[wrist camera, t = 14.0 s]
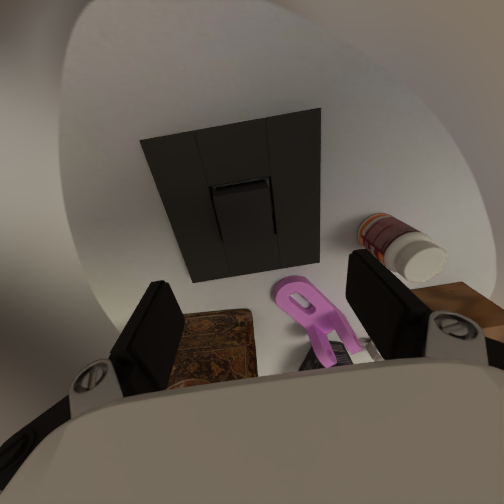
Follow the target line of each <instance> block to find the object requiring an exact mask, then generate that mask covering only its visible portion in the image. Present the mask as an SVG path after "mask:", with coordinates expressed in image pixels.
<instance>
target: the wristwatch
mask: <svg viewBox="0 0 504 504" xmlns="http://www.w3.org/2000/svg"><path fill="white" fill-rule="evenodd" d="M373 345H374V343H373V341H372V340H371V341H370V342H369V343H368V344H366V349H367V351H368V352H369V354H370V356H371V357H372V359H373V360H374V361H375V362H377V361H385V360H384V359H383V358H382V357H381V356H380V355H379V354H378V352H377V348H376V347H375V345H374V346H373Z"/></svg>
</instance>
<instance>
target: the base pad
mask: <svg viewBox="0 0 504 504" xmlns="http://www.w3.org/2000/svg"><path fill="white" fill-rule="evenodd" d="M140 143H141V146H142V149H143V151H144V154H145V157H146V159H147V162H148V165H149V167H150V170H151V173H152V175H153V178H154V181H155V183H156V186H157V189H158V191H159V194H160V197H161V199H162V202H163V205H164V207H165V210H166V213H167V215H168V218H169V221H170V223H171V226H172V229H173V231H174V234H175V237H176V239H177V242H178V245H179V247H180V250H181V253H182V255H183V258H184V261H185V263H186V266H187V269H188V271H189V274H190V277H191V279H192V282H193V283H196V282H202V281H209V280H215V279H221V278H227V277H233V276H239V275H245V274H252V273H258V272H264V271H270V270H276V269H282V268H288V267H294V266H301V265H307V264H313V263H319V262H320V163H321V108H316V109H311V110H305V111H300V112H294V113H288V114H283V115H277V116H272V117H266V118H261V119H255V120H250V121H244V122H239V123H233V124H227V125H222V126H216V127H211V128H205V129H200V130H195V131H189V132H183V133H178V134H172V135H166V136H161V137H155V138H150V139H144V140H140ZM268 176H269V182H270V191H271V200H272V209H273V219H274V227H273V228H274V237H275V239H270V240H264V241H258V242H252V243H246V244H240V245H234V246H227V247H225V246H224V242H223V238H222V234H221V230H220V226H219V222H218V218H217V214H216V210H215V206H214V202H213V192H212V188H211V186H217V185H222V184H228V183H234V182H240V181H245V180H251V179H257V178H263V177H268Z"/></svg>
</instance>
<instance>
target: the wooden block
mask: <svg viewBox="0 0 504 504" xmlns="http://www.w3.org/2000/svg"><path fill="white" fill-rule="evenodd" d="M411 291H412V292H413V293H414V294H415V295H416V296H417V297H418V298H419V299H420V300H421V301H422V302H423V303H424V304H425V305H427V306H428V307H429V308H430V309H431V310H432V311H433V312H434V311H439V310H448V311H453V312H456V313H459V314H462V315H464V316H466V317H468V318H470V319H472V320H473V321H474V322H476V323H477V324H478V325H479V326H480V327H481V328H482V330H483V332H484V335H485V337H488V338H491V339H494V340H497V341H500V342H503V343H504V309H502V308H501V307H499V306H498V305H496V304H495V303H493V302H492V301H490V300H489V299H487V298H486V297H484V296H483V295H481V294H480V293H478V292H477V291H475V290H474V289H472V288H471V287H469V286H468V285H466V284H465V283H463V282H458V283H452V284H445V285H439V286H433V287H426V288H420V289H414V290H411Z"/></svg>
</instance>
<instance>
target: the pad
mask: <svg viewBox="0 0 504 504" xmlns="http://www.w3.org/2000/svg"><path fill="white" fill-rule="evenodd" d="M213 202H214V206H215V210H216V214H217V218H218V222H219V226H220V230H221V234H222V238H223V242H224V246H225V247H227V246H234V245H240V244H246V243H252V242H258V241H264V240H270V239H275V237H274V228H273V218H272V209H271V200H270V191H269V187H268V185H267V183H266V182H265V180H258V181H252V182H246V183H240V184H235V185H229V186H223V187H217V188H216V189H215V192H214V195H213Z"/></svg>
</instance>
